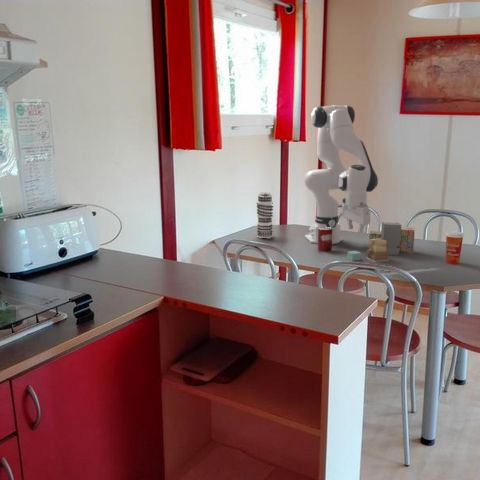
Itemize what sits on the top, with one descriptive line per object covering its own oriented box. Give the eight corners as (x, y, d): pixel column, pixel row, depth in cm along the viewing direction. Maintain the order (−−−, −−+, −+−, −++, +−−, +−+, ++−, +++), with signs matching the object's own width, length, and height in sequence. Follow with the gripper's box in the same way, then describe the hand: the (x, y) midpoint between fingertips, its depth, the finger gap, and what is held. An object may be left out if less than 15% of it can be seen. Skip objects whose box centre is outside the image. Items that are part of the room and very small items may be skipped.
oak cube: (369, 249, 250) (369, 239, 249) (379, 248, 251) (380, 238, 250) (375, 252, 245) (375, 241, 243) (385, 251, 246) (386, 240, 245)
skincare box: (382, 256, 256) (383, 224, 253) (379, 252, 263) (381, 221, 260) (400, 256, 256) (402, 224, 252) (396, 253, 263) (398, 221, 259)
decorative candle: (256, 235, 304) (256, 191, 298) (272, 235, 304) (273, 191, 298) (256, 238, 295) (256, 194, 290) (273, 238, 295) (273, 194, 289)
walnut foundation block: (366, 257, 251) (367, 249, 250) (380, 256, 253) (380, 248, 252) (374, 261, 245) (375, 252, 244) (388, 260, 247) (388, 251, 246)
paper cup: (440, 262, 246) (442, 232, 242) (447, 259, 251) (450, 230, 248) (457, 265, 240) (459, 235, 237) (464, 262, 246) (467, 232, 242)
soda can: (314, 250, 269) (315, 227, 267) (327, 249, 272) (328, 226, 269) (321, 253, 263) (322, 230, 260) (334, 252, 265) (335, 228, 262)
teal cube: (347, 260, 251) (347, 251, 249) (355, 259, 252) (356, 250, 251) (351, 263, 246) (352, 253, 245) (360, 262, 248) (361, 253, 246)
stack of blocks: (368, 251, 267) (369, 227, 264) (369, 248, 273) (370, 224, 270) (413, 254, 261) (414, 229, 258) (413, 251, 266) (414, 227, 263)
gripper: (374, 204, 234) (373, 235, 237) (352, 197, 253) (351, 226, 256) (361, 205, 232) (360, 236, 235) (340, 198, 251) (339, 227, 254)
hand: (355, 230), depth 245 cm, fingers open, 8 cm apart
